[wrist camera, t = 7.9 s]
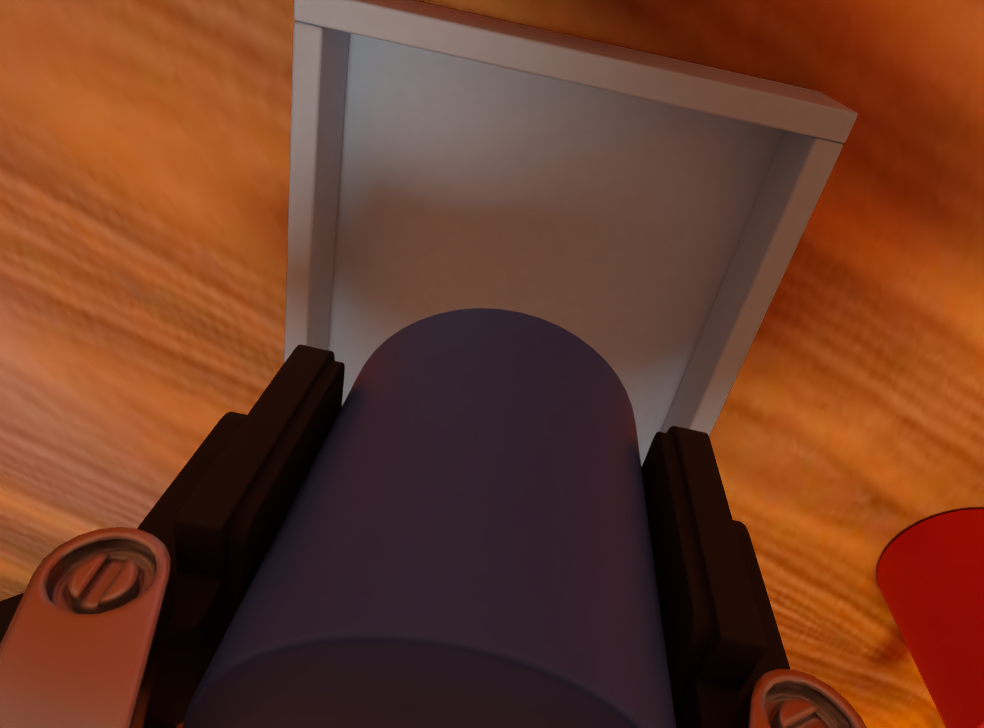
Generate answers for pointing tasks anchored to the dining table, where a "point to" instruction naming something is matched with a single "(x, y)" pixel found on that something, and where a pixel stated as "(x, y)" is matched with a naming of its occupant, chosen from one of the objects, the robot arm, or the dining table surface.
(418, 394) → the tabbed navy cylinder
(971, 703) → the tabbed red cylinder
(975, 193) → the dining table surface
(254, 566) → the robot arm
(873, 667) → the dining table surface
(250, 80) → the dining table surface
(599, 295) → the blue tray
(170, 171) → the dining table surface
